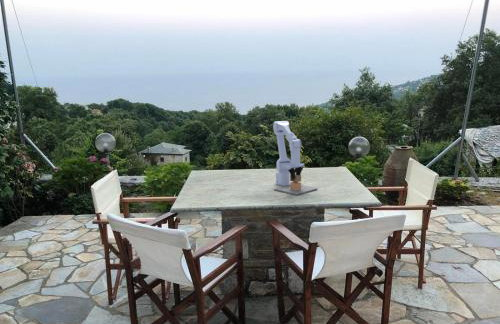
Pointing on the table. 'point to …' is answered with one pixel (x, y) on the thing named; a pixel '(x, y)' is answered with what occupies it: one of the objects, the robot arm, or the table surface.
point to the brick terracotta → (295, 185)
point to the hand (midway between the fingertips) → (295, 178)
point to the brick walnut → (296, 178)
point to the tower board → (295, 192)
